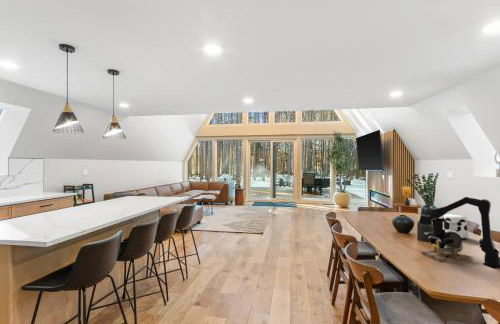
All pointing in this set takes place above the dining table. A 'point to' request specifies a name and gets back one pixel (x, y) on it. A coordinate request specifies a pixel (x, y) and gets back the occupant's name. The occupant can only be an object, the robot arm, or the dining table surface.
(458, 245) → the coffee can
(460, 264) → the dining table surface
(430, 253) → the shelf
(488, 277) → the dining table surface
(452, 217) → the milk container
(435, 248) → the bight saddle
